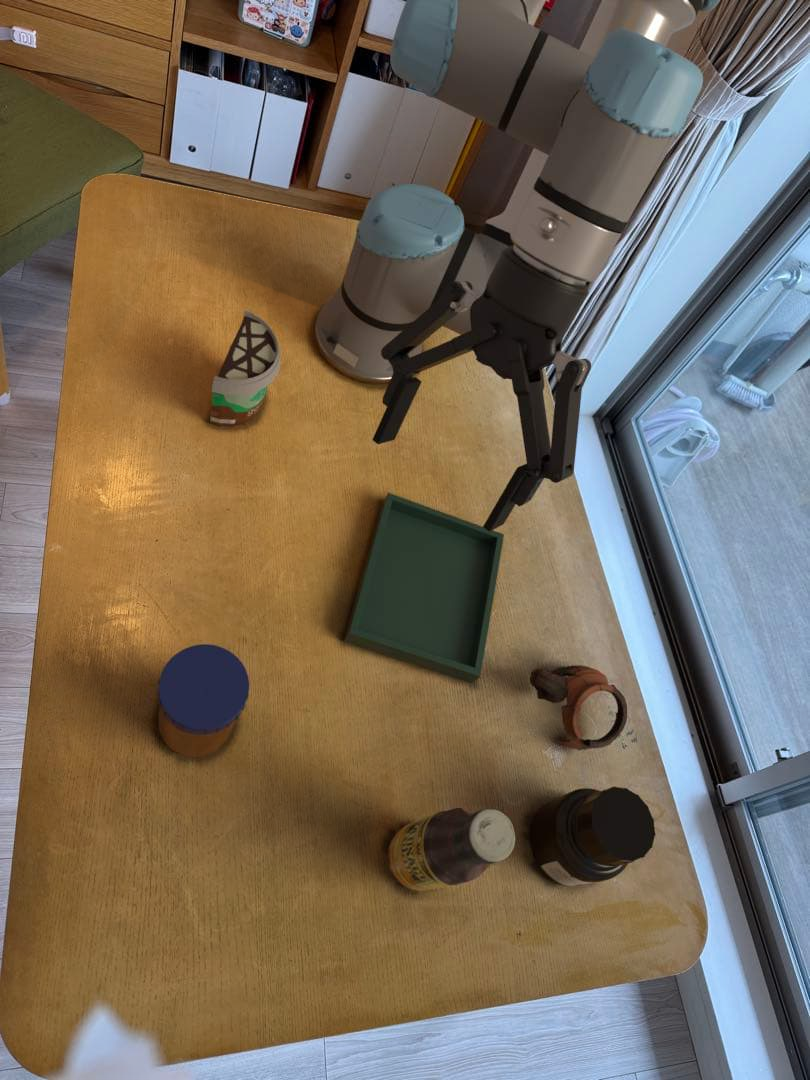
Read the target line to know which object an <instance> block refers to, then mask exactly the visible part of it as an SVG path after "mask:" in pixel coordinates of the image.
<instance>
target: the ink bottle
mask: <svg viewBox="0 0 810 1080" xmlns="http://www.w3.org/2000/svg"><path fill="white" fill-rule="evenodd" d="M528 827H529V828H528V843H529V848H530V852H531V855H532V857H533V860H534V862H535V864H536V866H537V867H538V869H539V870H540V871H541V872H542V874H543V875H544V876H545V877H546V878H547V879H549V880H550V881H552V882H553V883H555V884H557V885H559V886H562V887H563V886H564V887H571V888H572V887H576V888H577V887H581V886H586V885H592V884H596V883H600V882H605V881H608V880H611V879H614V878H615V877H618V875H620V874H621V873H623V872H624V870H625V869H626V868H627V866H628V865H629V864H631V863H632V864H633V863H635V862H636V861H639V860H642V859H645V858H646V857H647V855H648V854H649V852H650V851H651V850H652V849H653V848H654V841H655V838H656V829H655V828H656V827H655V819H654V817H653V815H652V813H651V810H650V807H649V805H648V804H646V803H645V802H644V800H643V799H642V798H641V796H640V795H639V794H638V793H635V792H634V791H631V790H630V789H629V788H627V787H618V786H612V787H608V788H607V789H603V790H598V789H595V788H589V787H587V788H578V789H575V790H571V791H569V792H566V793H564V794H562V795H560V796H558V797H556V798H552V799H550V800H549V801H546V802H545V803H543V804H542V805H541V806H539V807H538V809H536V811H535V812H534V814H533V815H532V818H531V819H530V822H529V826H528Z"/></svg>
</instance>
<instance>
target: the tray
mask: <svg viewBox="0 0 810 1080" xmlns="http://www.w3.org/2000/svg"><path fill="white" fill-rule="evenodd" d="M373 531H374V532H373V535H372V537H371V538H372V539H371V542H370V545H369V550H368V553H367V557H366V560H365V564H364V568H363V571H362V574H361V578H360V582H359V586H358V588H357V592H356V595H355V599H354V603H353V607H352V610H351V614H350V617H349V621H348V625H347V628H346V632H345V636H344V639H343V642H344V643H347V644H350V645H353V646H356V647H359V648H362V649H365V650H369V651H372V652H374V653H378V654H381V655H384V656H386V657H389V658H393V659H396V660H398V661H401V662H404V663H405V662H406V663H408V664H411V665H414V666H417V667H420V668H423V669H426V670H429V671H433V672H435V673H437V674H438V673H439V674H442V675H445V676H448V677H450V678H454V679H456V680H460V681H463V682H465V683H468V684H473V683H475V682H476V681H477V680H478V679H479V678H481V674H482V668H483V664H484V663H483V662H484V658H485V650H486V646H487V640H488V639H487V638H488V633H489V628H490V622H491V615H492V608H493V603H494V597H495V591H496V586H497V580H498V575H499V574H498V573H499V568H500V561H501V555H502V549H503V543H504V539H505V538H504V536H505V534H504V533H502V532H498V531H495V530H492V531H490V532H489V531H488V530H486V529H485V528H484V527H483V526H482V525H479V524H476V523H473V522H471V521H468V520H466V519H462V518H460V517H457V516H454V515H451V514H448V513H445V512H443V511H440V510H437V509H436V508H435V509H434V508H432V507H430V506H426V505H424V504H421V503H418V502H415V501H413V500H411V499H407V498H404V497H401V496H398V495H396V494H393V493H390V492H387V494H386V495H385V497H384V499H383V501H382V503H381V507H380V510H379V514H378V517H377V519H376V524H375V528H374V530H373Z"/></svg>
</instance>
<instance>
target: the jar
mask: <svg viewBox="0 0 810 1080" xmlns="http://www.w3.org/2000/svg"><path fill="white" fill-rule="evenodd" d="M235 721H236V720H235ZM235 721H234V722H233V723H232V724H231V725H229V727H228V728H227V727H226V728H225V729H223V730H221V731H218V733H217V732H216V733H212V734H206V735H196V734H194V735H193V734H190V733H187V732H184V731H183V732H182V730H180V729H178V728H176V727H175V726H174V725H171V723H170V722H169V721H168V720H167V718H166V717H164V714H163V712H162V710H161V708H160V707H159V711H158V723H157V724H158V730H159V735H160V737H161V739H162V741H163V743H165V745H166V746H167V747H168V748H169V749H170V750H172V751H173V752H175V753H177V754H179V755H181V756H185V757H191V758H198V757H203V756H206V755H210V754H212V753H213V752H215V751H217V750H218V749H220V748H221V747H222V746H223V745H224V744H225V743H226V741H227V740H228V738H229V737H230V734H231V732H232V729H233V727H234V724H235Z"/></svg>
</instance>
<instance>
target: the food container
mask: <svg viewBox="0 0 810 1080" xmlns="http://www.w3.org/2000/svg"><path fill="white" fill-rule="evenodd" d="M281 361H282V359H281V349H280V344H279V341H278V338H277V335H276V334H275V332H274V331H273V329H272V328H271V326H270V325H269V324H268V323H267V322H266V321H265V320H264V319H262V318H261V317H260V316H258V315H257V314H255V313H253V312H251V311H249V310H247V309H244V312H243V318H242V320H241V323H240V326H239V329H238V330H237V332H236V335H235V337H234V339H233V341H232V343H231V345H230V347H229V349H228V352H227V354H226V357H225V359H224V361H223V363H222V366H221V367H220V369H219V372H218V374H217V376H216V375H214V378H213V381H212V385H211V386H212V387H211V393H212V396H211V407H210V418H209V424H210V425H213V426H217V427H225V428H226V427H227V428H228V427H229V428H233V427H238V426H243V425H246V424H247V423H250V422H251V421H253V420H254V419H255V418H256V416H257V415H258V414H259V412H260V410H261V407H262V405H263V402H264V399H265V396H266V394H267V390H268V387H269V385H270V384H272V383H273V382H274V381H275V379H276V378H277V376H278V374H279V372H280V370H281V369H280V368H281V363H282V362H281Z"/></svg>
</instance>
